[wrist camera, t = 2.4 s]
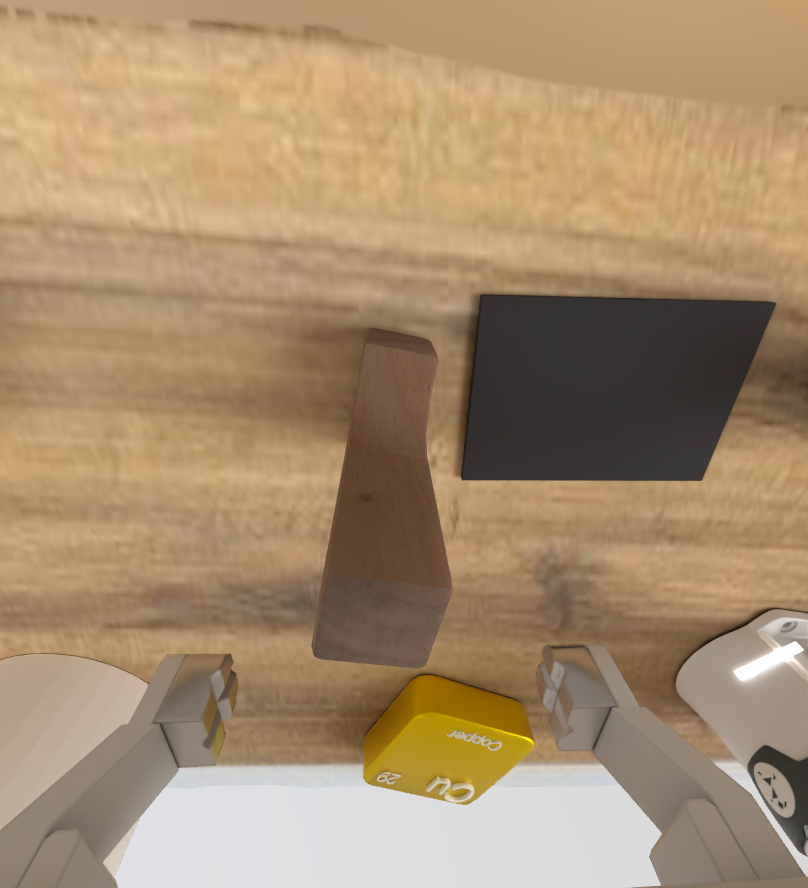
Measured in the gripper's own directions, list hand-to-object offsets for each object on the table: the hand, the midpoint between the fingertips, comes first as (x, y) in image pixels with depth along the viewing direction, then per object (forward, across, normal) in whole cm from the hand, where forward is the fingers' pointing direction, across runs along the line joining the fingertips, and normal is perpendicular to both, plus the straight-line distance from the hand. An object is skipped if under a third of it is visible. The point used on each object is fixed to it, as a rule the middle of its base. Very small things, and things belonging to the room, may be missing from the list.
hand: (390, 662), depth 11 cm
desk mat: (+21, +16, 0) cm, 26 cm away
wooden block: (+21, 0, 0) cm, 21 cm away
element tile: (+21, +7, -41) cm, 47 cm away
